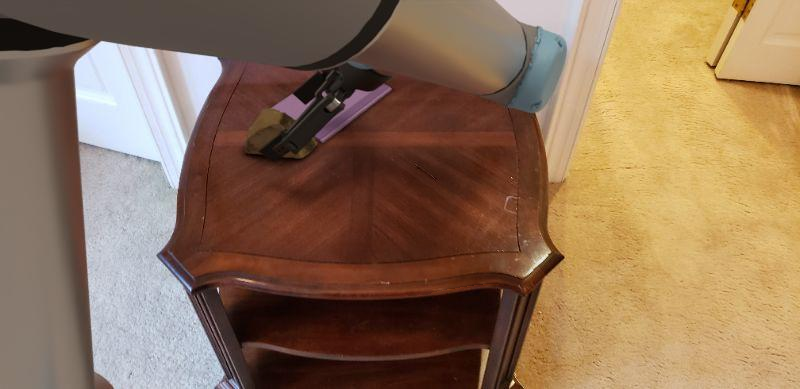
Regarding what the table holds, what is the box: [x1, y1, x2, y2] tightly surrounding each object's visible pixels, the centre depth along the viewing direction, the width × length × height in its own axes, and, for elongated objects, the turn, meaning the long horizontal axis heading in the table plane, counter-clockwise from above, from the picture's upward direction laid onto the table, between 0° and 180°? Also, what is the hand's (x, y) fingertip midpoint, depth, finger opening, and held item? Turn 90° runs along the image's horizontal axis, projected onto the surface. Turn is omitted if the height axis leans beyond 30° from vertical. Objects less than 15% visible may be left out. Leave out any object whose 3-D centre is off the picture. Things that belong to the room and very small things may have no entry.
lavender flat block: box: [271, 83, 393, 144], centre depth 98 cm, size 18×13×1 cm
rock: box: [243, 107, 318, 160], centre depth 87 cm, size 11×9×10 cm
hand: (284, 125), depth 84 cm, fingers open, 13 cm apart
